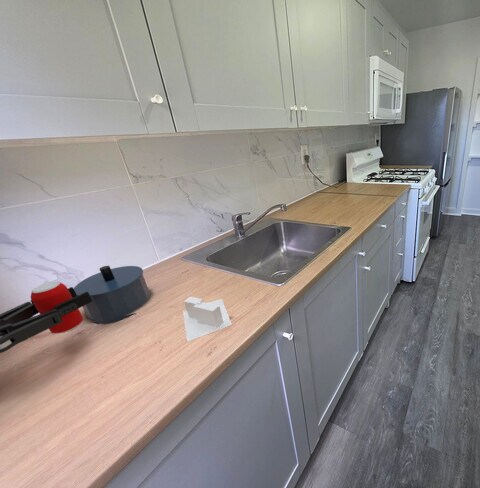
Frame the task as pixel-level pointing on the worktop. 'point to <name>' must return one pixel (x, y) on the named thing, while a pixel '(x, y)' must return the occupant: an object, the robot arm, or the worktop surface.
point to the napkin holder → (204, 317)
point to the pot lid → (109, 280)
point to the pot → (118, 303)
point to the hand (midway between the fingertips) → (81, 294)
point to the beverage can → (52, 296)
